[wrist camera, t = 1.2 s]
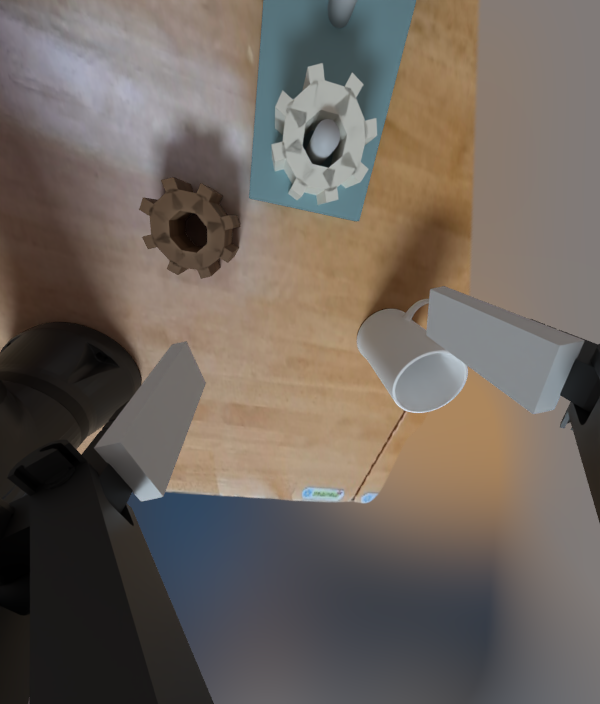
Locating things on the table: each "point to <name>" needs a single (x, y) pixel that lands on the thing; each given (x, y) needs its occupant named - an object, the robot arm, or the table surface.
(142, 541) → the robot arm
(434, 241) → the table surface
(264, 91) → the gear board
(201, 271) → the walnut gear
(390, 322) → the mug
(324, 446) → the table surface
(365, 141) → the cream gear
